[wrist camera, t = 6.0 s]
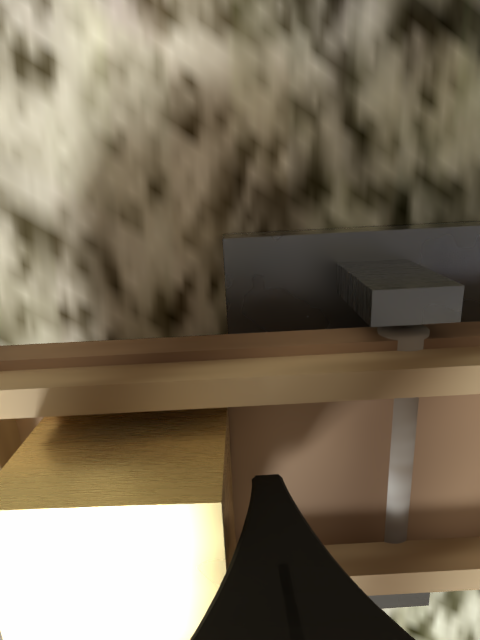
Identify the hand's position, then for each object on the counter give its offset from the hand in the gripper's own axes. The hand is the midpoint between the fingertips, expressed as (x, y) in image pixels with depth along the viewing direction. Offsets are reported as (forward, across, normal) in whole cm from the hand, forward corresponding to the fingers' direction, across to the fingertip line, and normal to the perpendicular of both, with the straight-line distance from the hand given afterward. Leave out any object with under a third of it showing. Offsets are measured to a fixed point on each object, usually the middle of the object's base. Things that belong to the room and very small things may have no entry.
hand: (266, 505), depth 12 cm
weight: (+1, +3, 0) cm, 4 cm away
